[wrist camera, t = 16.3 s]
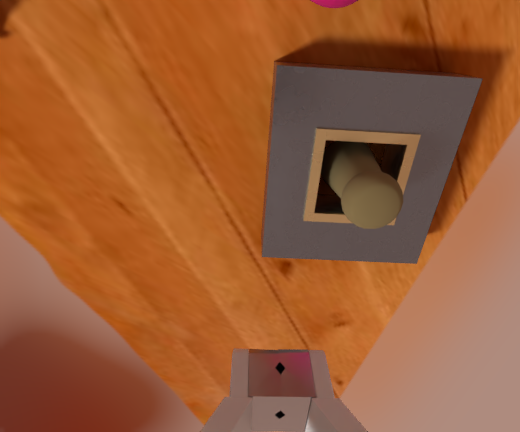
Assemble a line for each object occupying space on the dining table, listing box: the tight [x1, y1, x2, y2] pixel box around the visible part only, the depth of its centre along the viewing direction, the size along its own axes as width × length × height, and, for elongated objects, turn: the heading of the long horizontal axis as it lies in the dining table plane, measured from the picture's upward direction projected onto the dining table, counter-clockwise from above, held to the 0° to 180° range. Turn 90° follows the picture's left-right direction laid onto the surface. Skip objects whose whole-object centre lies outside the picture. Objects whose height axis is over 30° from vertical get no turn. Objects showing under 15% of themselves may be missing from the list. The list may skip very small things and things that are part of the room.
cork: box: [321, 141, 403, 229], centre depth 32 cm, size 6×6×11 cm
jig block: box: [261, 61, 482, 264], centre depth 35 cm, size 20×18×5 cm
